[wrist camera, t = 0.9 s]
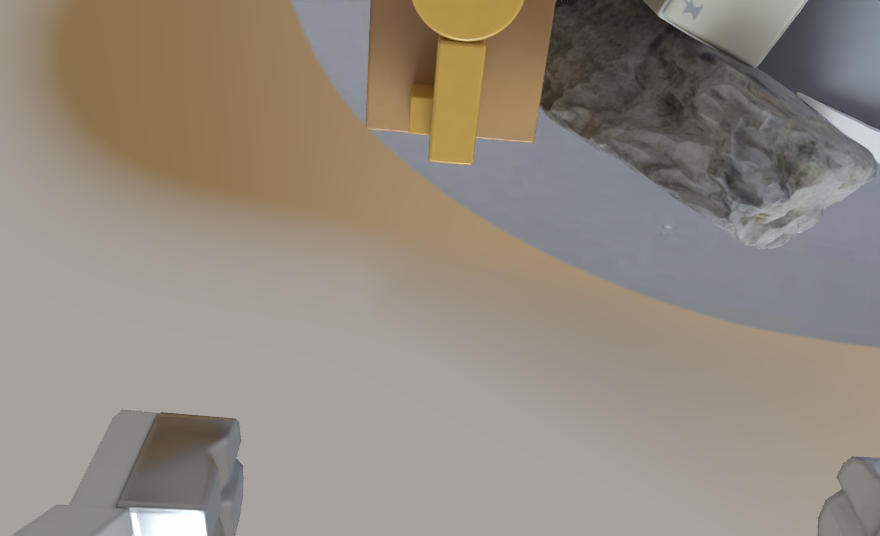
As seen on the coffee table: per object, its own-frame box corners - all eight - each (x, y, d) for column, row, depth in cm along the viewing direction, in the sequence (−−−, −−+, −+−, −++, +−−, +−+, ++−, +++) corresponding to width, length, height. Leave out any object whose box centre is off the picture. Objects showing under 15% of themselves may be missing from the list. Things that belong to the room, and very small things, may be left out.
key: (416, -101, 19) (412, -87, 17) (529, -90, 19) (536, -76, 17) (401, 129, 22) (397, 160, 20) (499, 138, 22) (503, 169, 20)
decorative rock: (494, 43, 39) (516, 175, 26) (581, -81, 36) (653, 0, 23) (742, 211, 44) (863, 394, 31) (837, 113, 41) (1015, 270, 28)
